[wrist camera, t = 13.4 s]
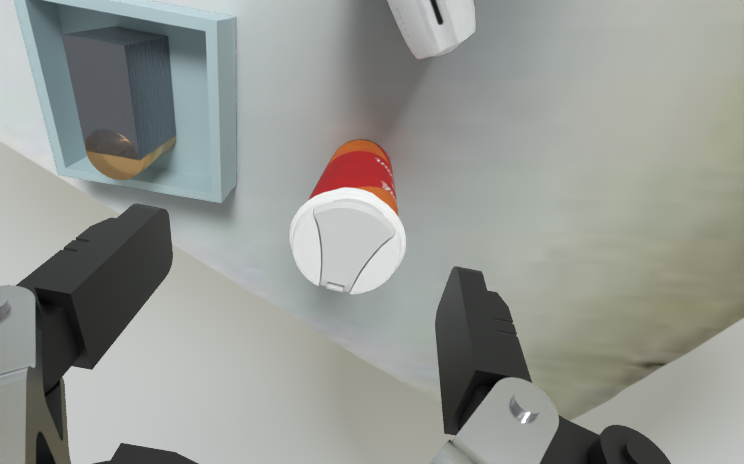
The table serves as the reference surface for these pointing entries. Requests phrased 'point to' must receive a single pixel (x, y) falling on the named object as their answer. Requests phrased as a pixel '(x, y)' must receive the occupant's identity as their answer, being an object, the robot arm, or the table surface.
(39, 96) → the bin
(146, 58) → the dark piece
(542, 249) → the table surface
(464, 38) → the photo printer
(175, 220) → the table surface
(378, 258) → the paper cup
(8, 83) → the table surface
